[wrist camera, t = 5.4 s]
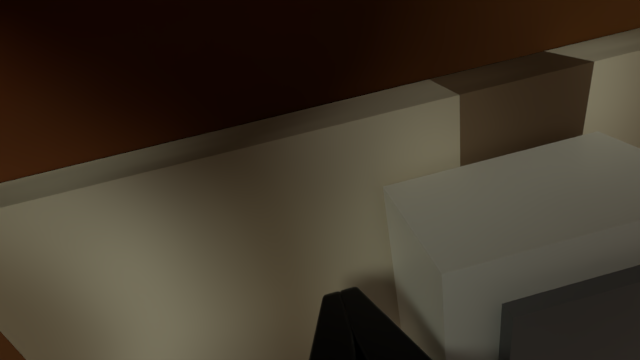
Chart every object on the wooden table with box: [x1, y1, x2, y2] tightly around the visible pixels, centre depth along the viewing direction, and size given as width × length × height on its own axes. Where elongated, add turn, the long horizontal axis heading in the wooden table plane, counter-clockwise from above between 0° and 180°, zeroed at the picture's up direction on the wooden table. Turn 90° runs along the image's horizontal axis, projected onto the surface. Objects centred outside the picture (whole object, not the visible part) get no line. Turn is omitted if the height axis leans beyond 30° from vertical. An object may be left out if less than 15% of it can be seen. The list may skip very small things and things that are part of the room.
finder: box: [383, 131, 640, 360], centre depth 8 cm, size 5×5×3 cm
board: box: [0, 28, 640, 360], centre depth 11 cm, size 18×12×2 cm, turn 101°
